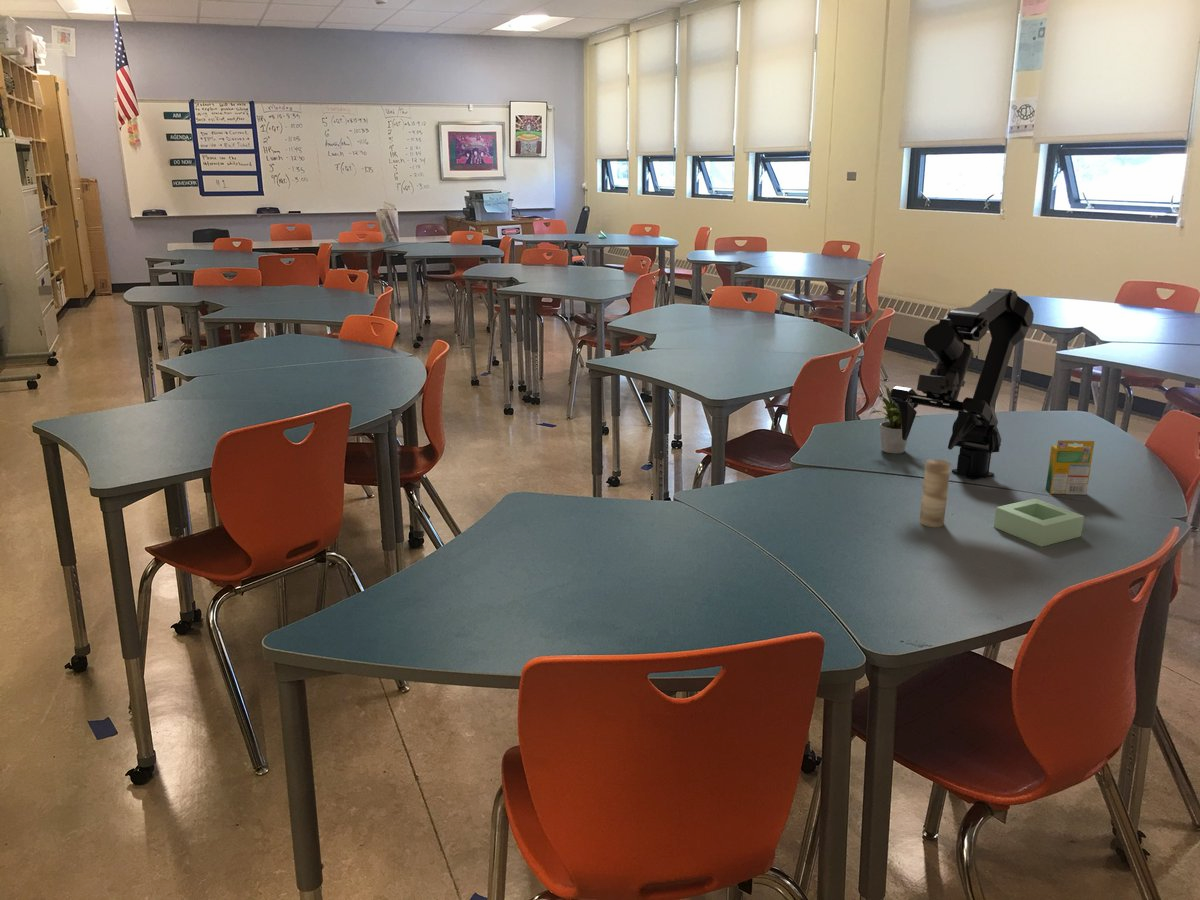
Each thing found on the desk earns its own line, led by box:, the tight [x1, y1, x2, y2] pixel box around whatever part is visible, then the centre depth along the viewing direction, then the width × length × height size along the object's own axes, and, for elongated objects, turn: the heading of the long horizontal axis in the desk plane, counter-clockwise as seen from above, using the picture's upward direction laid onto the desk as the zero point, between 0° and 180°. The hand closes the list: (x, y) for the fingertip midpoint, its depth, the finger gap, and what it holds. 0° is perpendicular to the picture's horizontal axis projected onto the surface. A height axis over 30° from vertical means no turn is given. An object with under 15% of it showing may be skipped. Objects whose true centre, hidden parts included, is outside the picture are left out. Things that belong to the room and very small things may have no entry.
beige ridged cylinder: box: [918, 458, 952, 528], centre depth 170 cm, size 4×4×12 cm
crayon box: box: [1045, 440, 1095, 496], centre depth 186 cm, size 7×3×12 cm, turn 84°
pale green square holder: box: [993, 498, 1085, 547], centre depth 167 cm, size 10×10×4 cm
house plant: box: [866, 383, 921, 454], centre depth 215 cm, size 14×14×16 cm
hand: (926, 444), depth 176 cm, fingers open, 9 cm apart
